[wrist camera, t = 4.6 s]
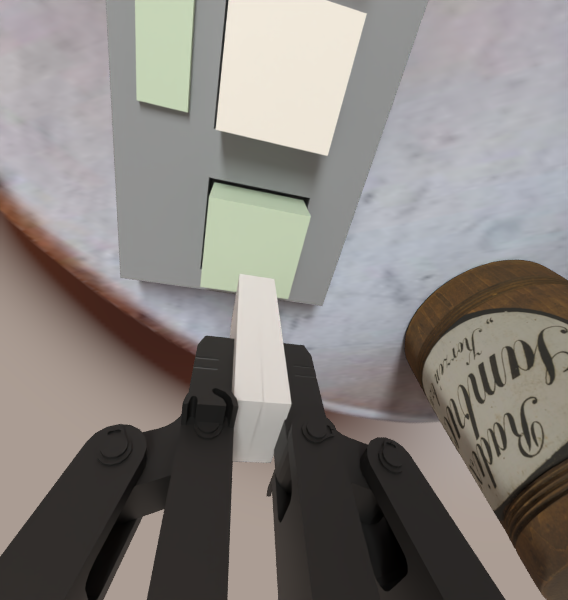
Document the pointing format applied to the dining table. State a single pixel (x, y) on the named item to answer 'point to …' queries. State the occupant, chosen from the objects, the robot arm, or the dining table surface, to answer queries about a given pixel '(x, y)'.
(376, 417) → the dining table surface
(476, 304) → the wooden container
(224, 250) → the sage green key
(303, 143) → the off-white key
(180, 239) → the console
